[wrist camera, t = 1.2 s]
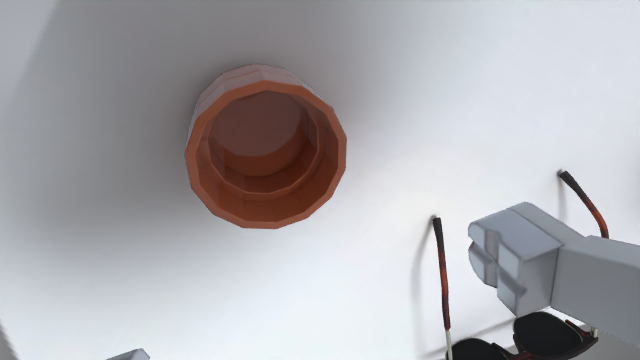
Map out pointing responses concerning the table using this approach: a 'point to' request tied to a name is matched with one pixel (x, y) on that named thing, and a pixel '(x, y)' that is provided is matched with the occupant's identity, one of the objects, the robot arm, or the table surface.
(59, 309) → the table surface
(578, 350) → the sunglasses
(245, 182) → the bowl
